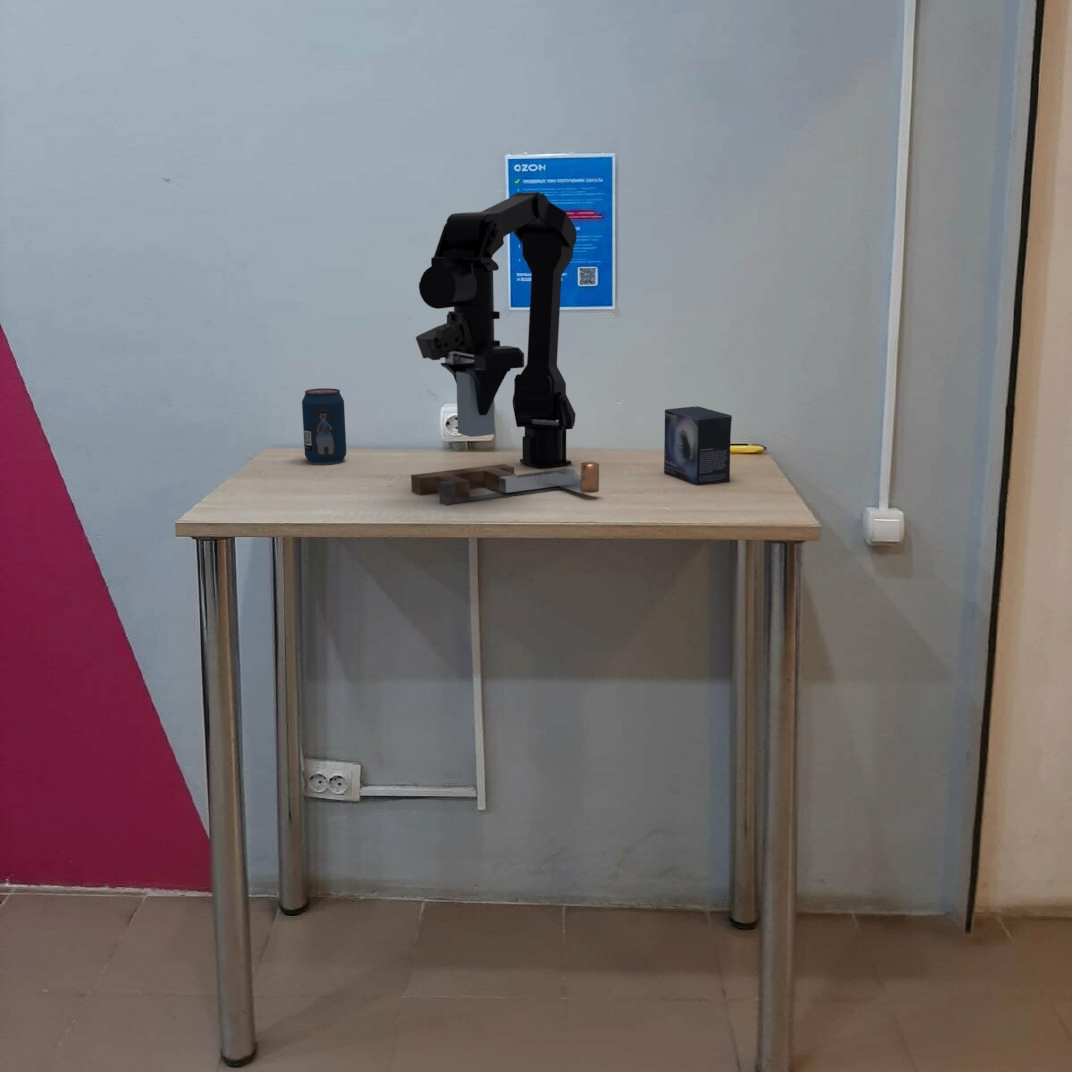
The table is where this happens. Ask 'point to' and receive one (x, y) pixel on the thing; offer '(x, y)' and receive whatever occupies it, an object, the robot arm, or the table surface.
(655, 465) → the table surface
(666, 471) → the small box
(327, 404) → the soda can
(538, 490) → the mount
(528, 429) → the robot arm
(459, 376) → the slate blue cuboid
